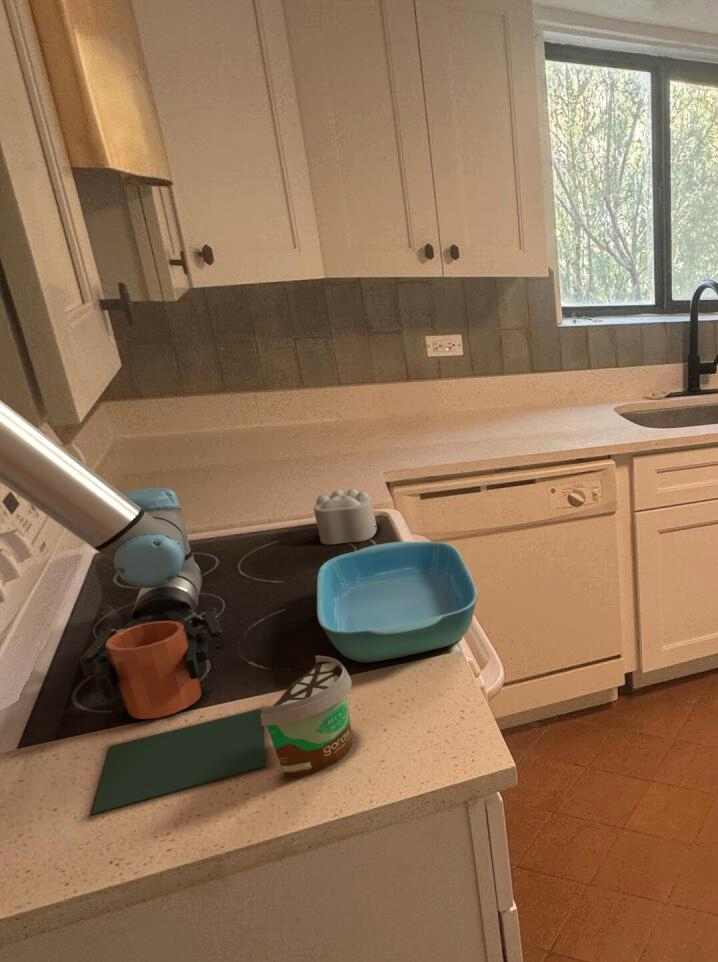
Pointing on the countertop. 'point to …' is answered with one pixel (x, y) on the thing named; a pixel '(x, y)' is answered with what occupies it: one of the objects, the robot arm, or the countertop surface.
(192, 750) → the mat
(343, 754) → the food container
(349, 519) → the lumpy-topped squat cylinder
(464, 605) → the casserole dish
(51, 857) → the countertop surface
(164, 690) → the cup
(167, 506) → the robot arm
